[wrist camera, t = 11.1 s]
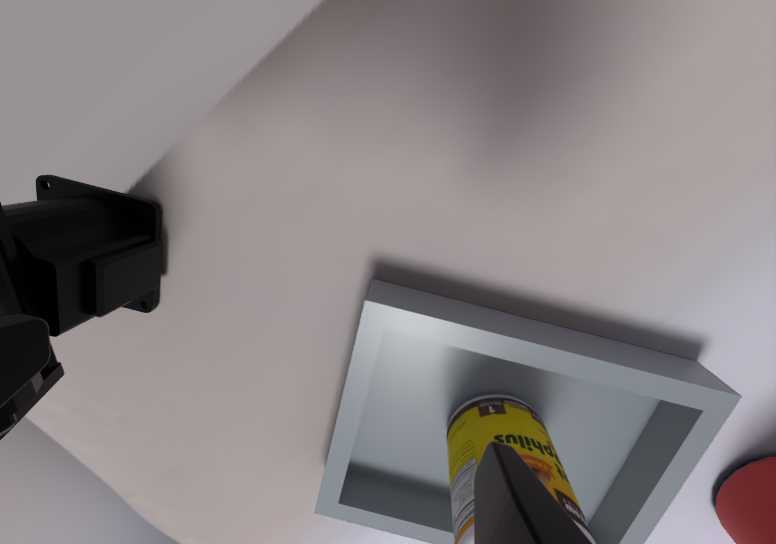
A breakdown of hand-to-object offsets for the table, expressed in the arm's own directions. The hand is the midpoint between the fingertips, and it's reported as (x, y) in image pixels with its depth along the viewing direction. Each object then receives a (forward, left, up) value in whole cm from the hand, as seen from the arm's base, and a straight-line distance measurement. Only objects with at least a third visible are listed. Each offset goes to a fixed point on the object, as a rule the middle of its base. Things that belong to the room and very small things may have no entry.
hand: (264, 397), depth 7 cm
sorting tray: (+10, -9, -13) cm, 19 cm away
